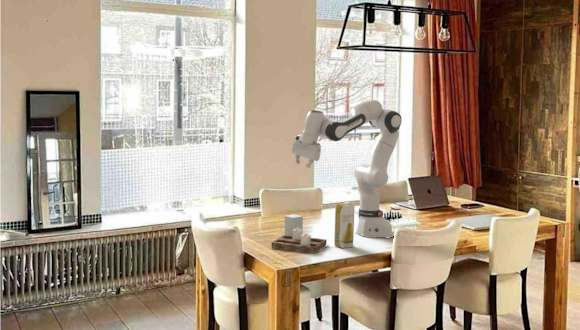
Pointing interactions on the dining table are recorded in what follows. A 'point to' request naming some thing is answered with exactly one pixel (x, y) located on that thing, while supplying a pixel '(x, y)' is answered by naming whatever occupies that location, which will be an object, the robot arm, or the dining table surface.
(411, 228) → the dining table surface
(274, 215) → the dining table surface
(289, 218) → the supplement box
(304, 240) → the tab
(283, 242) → the switch board
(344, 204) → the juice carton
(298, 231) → the tab
